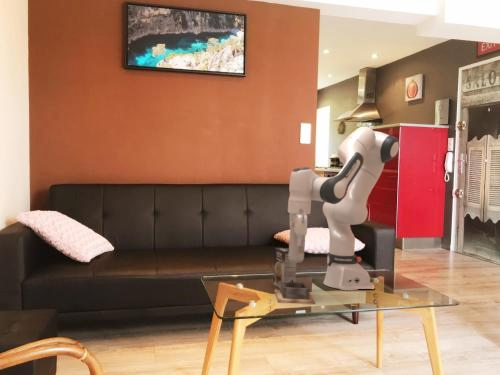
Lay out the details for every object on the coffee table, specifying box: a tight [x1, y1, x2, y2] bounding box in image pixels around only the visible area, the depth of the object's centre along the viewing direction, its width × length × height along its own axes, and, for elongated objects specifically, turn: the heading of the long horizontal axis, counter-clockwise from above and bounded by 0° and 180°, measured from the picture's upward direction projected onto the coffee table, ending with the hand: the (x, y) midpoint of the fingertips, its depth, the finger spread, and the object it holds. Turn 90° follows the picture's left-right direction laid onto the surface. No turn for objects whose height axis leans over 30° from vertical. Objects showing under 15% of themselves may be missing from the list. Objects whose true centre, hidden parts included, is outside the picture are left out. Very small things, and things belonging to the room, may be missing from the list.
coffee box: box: [272, 247, 298, 289], centre depth 185 cm, size 9×6×16 cm
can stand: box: [274, 281, 316, 305], centre depth 170 cm, size 14×14×5 cm
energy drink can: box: [288, 223, 306, 264], centre depth 169 cm, size 6×6×15 cm
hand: (297, 243), depth 169 cm, fingers closed on energy drink can, 6 cm apart
